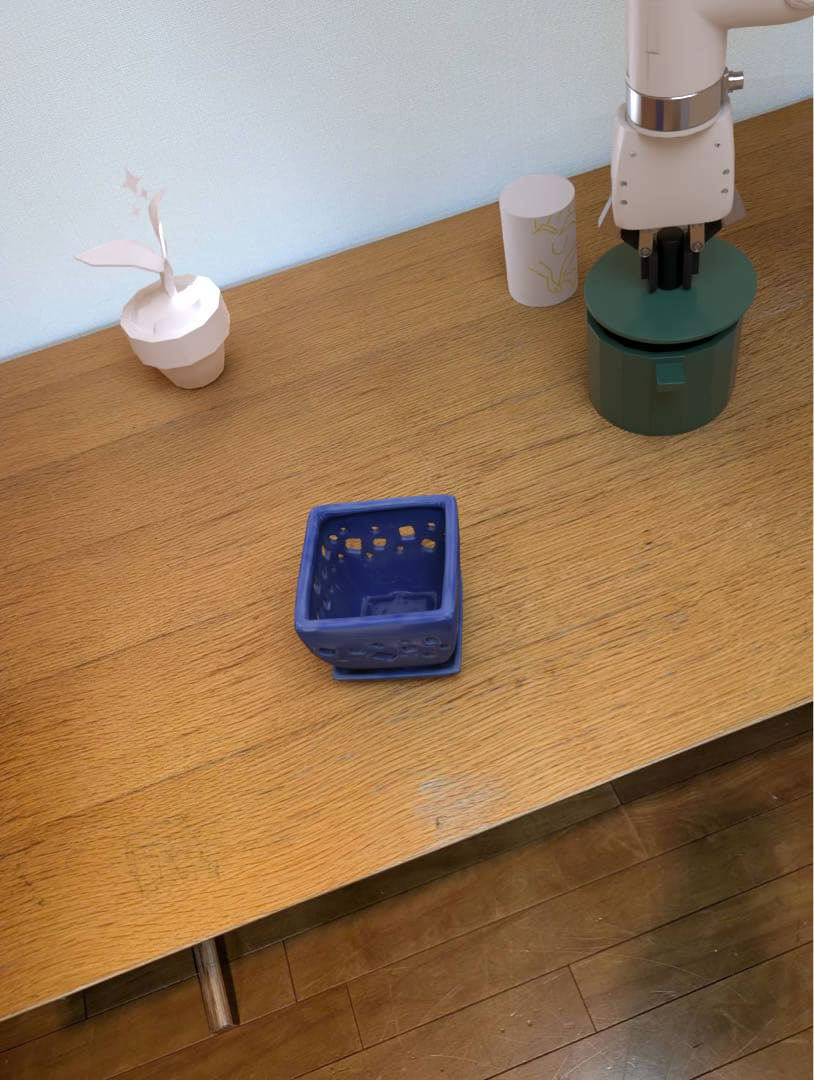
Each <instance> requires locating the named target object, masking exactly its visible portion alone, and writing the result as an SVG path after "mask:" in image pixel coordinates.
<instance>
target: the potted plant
mask: <svg viewBox="0 0 814 1080" xmlns="http://www.w3.org/2000/svg"><path fill="white" fill-rule="evenodd" d="M124 169H125V175H126V177H125V178H126V179H125V182H124V184H123V185H121V188H127V189H129V190H130V191H131V192H132V193H133V195H134V196H135V198H136V199H137V200H139V199H138V192H137V185H138V183H139V181H140V180H142V179H143V177H137V176H134V175H133V174H131V172H130V171H129V169H128V167H126V166H124ZM140 186H141V194H140V197H142V198H144V199H145V201H146V202H148V193H149V190H146V189H144V187H143V185H140ZM164 193H165V188H164V187H162V188H161V189H160V190H158V192H156V193H155V194H154V195H153V196H151V198H150V200H149V204H148V208H147V209H148V210H147V211H148V213H149V214H148V215H149V221H150V223H151V225H152V228H153V230H154V234H155V236H156V238H157V240H158V242H159V245H160V250H161V251H160V252H161V256H159V255H158V253H157V252H156V251H155V250H154V249H153V248H152V247H150V246H148V245H146V244H144V243H141V242H140V241H137V240H135V239H132V238H130V237H129V238H121V239H119V238H118V239H114V240H111V241H109V242H106V243H102V244H99V245H97V246H94V247H92V248H89V249H88V250H86V251H83V252H81V253H79V254H76V255H74V256H73V259H75V260H76V261H79V262H81V263H83V264H86V265H87V266H90V267H93V268H95V267H97V268H103V267H104V268H106V267H107V268H109V267H110V268H135V269H139V270H142V271H147V272H151V273H155V274H159V277H160V278H159V279H158V280H156V281H154V282H152V283H150V284H148V285H146V286H144V287H142V288H141V289H139V290H138V291H137V292H135V294H134V295H132V297H131V298H130V299H129V301H127V302H126V303H125V304H124V306H123V307H122V313H121V318H120V323H119V325H120V327H121V329H122V331H123V333H124V335H125V337H126V339H127V342H128V343H129V345H130V347H131V349H132V351H133V352H134V353H135V355H136V356H137V358H139V360H140V361H141V363H142V364H143V365H145V366H150V367H153V368H156V369H157V370H159V372H161V373H162V374H163V375H164V376H165V377H166V378H167V379H168V380H169V381H171V382H172V384H174V385H175V386H176V387H178V388H183V389H185V390H192V389H199V388H203V387H206V386H207V385H209V384H211V383H213V382H215V381H216V380H217V379H218V378H219V377H220V375H221V374H222V373H223V372H224V371H225V370H224V369H225V340H226V339H227V338H228V336H229V335H230V326H231V315H230V312H229V310H228V308H227V305H226V303H225V300H224V298H223V295H222V292H221V290H220V289H219V287H218V286H217V285H215V283H214V282H213V281H212V280H211V279H210V278H209V277H206V276H200V275H195V274H190V273H183V274H178V275H174V270H173V269H174V268H173V267H172V266H171V264H170V263H169V260H168V245H167V239H166V236H165V232H164V229H163V226H162V218H161V212H160V206H161V202H162V200H163V197H164ZM141 210H142V208H140V209H139V208H136V207H135V206H134V204H133V203H132V212H131V213H130V215H132V216H133V215H134V216H135V218H136V219H138V220H139V213H140V211H141Z"/></svg>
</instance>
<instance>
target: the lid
mask: <svg viewBox="0 0 814 1080" xmlns="http://www.w3.org/2000/svg"><path fill="white" fill-rule="evenodd" d="M687 231H688V230H685V231H684V229H681V228H679V227H676V226H670V227H660V229H658V230H657V232H653V236H654V240H655V239H656V249H657V255H658V277H657V290H655V292H649V283H648V279H642V280H641V272H640V255H639V253H638V251H637V250H636V249H634V248H633V247H631V246H630V245H629V244H627V243H626V242H624V241H622V242H621V243H618V244H617V245H615V246H613V247H612V248H610V249H609V250H607V251H606V252H605V253H603V254H602V255H601V256H599V258H598V259H597V260H596V261H595V262H594V263H593V264H592V266H591V267H590V269H589V270H588V272H587V275H586V277H585V279H584V284H583V297H584V303H585V306H586V305H587V308H588V310H589V312H590V313H591V315H592V316H593V317H594V318H595V320H596V321H597V322H598V323H600V324H601V325H602V326H603V327H605V328H606V329H608V330H609V331H611V332H613V333H615V334H617V335H619V336H622V337H625V338H628V339H631V340H635V341H639V342H645V343H653V344H676V343H684V342H690V341H695V340H699V339H702V338H705V337H709V336H711V335H714V334H716V333H718V332H721V331H722V330H724V329H726V328H728V327H729V326H731V325H732V324H734V323H735V322H736V321H738V320H739V319H740V318H741V317H742V316H743V317H744V315H745V314H746V313H747V312H748V311H749V309H750V308H751V306H752V304H753V302H754V301H755V297H756V295H757V289H758V276H757V271H756V269H755V266H754V264H753V263H752V261H751V259H750V258H749V257H748V256H747V255H746V254H745V253H744V252H743V251H742V250H741V249H740V248H738V247H736V246H735V245H734V244H732V243H730V242H728V241H726V240H724V239H722V238H719V237H717V236H715V235H714V236H713V237H712V238H711V239H709V240H708V241H707V242H706V243H705V244H704V248H703V250H702V251H700V257H699V273H698V274H694V275H692V281H691V288H688V289H685V287H683V284H682V269H683V247H684V233H686V232H687Z"/></svg>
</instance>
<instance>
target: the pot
mask: <svg viewBox="0 0 814 1080" xmlns="http://www.w3.org/2000/svg"><path fill="white" fill-rule="evenodd" d="M585 319H586V321H585V323H586V324H585V325H586V351H587V352H586V353H587V379H588V380H587V381H588V382H587V383H588V397H589V398H590V401H591V403H592V405H593V407H594V409H595V410H596V411H597V412H598V414H599V415H600V416H601V417H602V418H604V420H606V421H607V422H609V423H610V424H612V425H613V426H615V427H617V428H619V429H622V430H625V431H626V432H629V433H634V434H637V435H643V436H651V437H653V436H654V437H667V436H675V435H680V434H681V435H682V434H685V433H689V432H692V431H695V430H698V429H701V427H703V426H705V425H708V424H709V423H710V422H712V421H713V420H715V419H716V418H717V417H718V416H719V415H720V414H721V413H722V412H723V411H724V410H725V409H726V407H727V406H728V405H729V402H730V401H731V398H732V394H733V390H734V388H735V386H736V377H737V369H738V362H739V353H740V346H741V337H742V329H743V322H744V315H743V316H742V317H741V318H740V319H739V320H738V321H736V322H735V323H734V324H732V325H731V326H729V327H728V328H726V329H724V330H722V331H721V332H718V333H716V334H714V335H711V336H709V337H705V338H702V339H699V340H695V341H690V342H684V343H676V344H653V343H645V342H639V341H635V340H631V339H628V338H625V337H622V336H619V335H617V334H615V333H613V332H611V331H609V330H608V329H606V328H605V327H603V326H602V325H601V324H600V323H598V322H597V321H596V320H595V318H594V317H593V316H592V315H591V313H590V312H589V310H588V308H587V305H586V304H585Z"/></svg>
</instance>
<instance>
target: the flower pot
mask: <svg viewBox="0 0 814 1080" xmlns="http://www.w3.org/2000/svg"><path fill="white" fill-rule="evenodd" d="M430 524H433V525H430ZM407 527H411V528H412V529H413V534H408V535H402V534H401V532H400V529H401V528H407ZM374 528H376V529H374ZM460 531H461V530H460V518H459V507H458V502H457V498H456V496H455V495H453V494H425V495H411V496H409V495H408V496H395V497H388V498H387V497H386V498H379V499H368V500H360V501H359V500H357V501H348V502H338V503H329V504H320V505H316V506H314V507H313V506H312V507H311V509H310V510H309V512H308V516H307V520H306V526H305V532H304V538H303V546H302V550H301V551H302V553H301V557H300V564H299V569H298V576H297V582H296V583H297V585H296V590H295V591H296V592H295V600H294V613H293V614H294V616H293V627H294V631H295V633H296V635H297V637H298V638H299V639H300V641H301V642H302V643H303V645H304V646H305V647H306V649H308V650H309V651H310V652H311V653H312V654H313V655H314V656H315V657H317V658H318V659H320V660H321V661H323V662H325V663H327V664H328V665H331V667H332V668H331V677H332V679H333V681H336V682H365V681H366V682H368V681H371V682H372V681H388V680H390V681H392V680H412V679H425V678H426V679H427V678H441V677H442V678H443V677H450V676H457V675H458V674H459V673H460V672H461V669H462V658H463V655H462V654H463V650H462V649H463V626H464V625H463V622H464V621H463V619H464V618H463V617H464V616H463V615H464V614H463V613H464V612H463V609H464V607H463V606H464V604H463V601H464V600H463V599H464V598H463V597H464V583H463V582H464V581H463V571H462V569H461V536H460V534H461V533H460ZM334 536H335V537H336V538H331V537H334ZM347 540H360V548H352V547H348V546H347V543H346V541H347ZM375 540H385V543H384V544H383V545H380V544H379V545H378V544H377V545H376V544H374V542H375ZM425 540H428V541H431V542H433V543H434V545H433V547H432V546H431V547H430V546H426V545H423V542H424V541H425ZM400 548H402V549H400ZM323 550H324V552H323ZM323 553H324V554H323ZM368 554H369V555H370V554H371V555H370V556H369V555H368ZM340 555H341V556H340Z"/></svg>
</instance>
